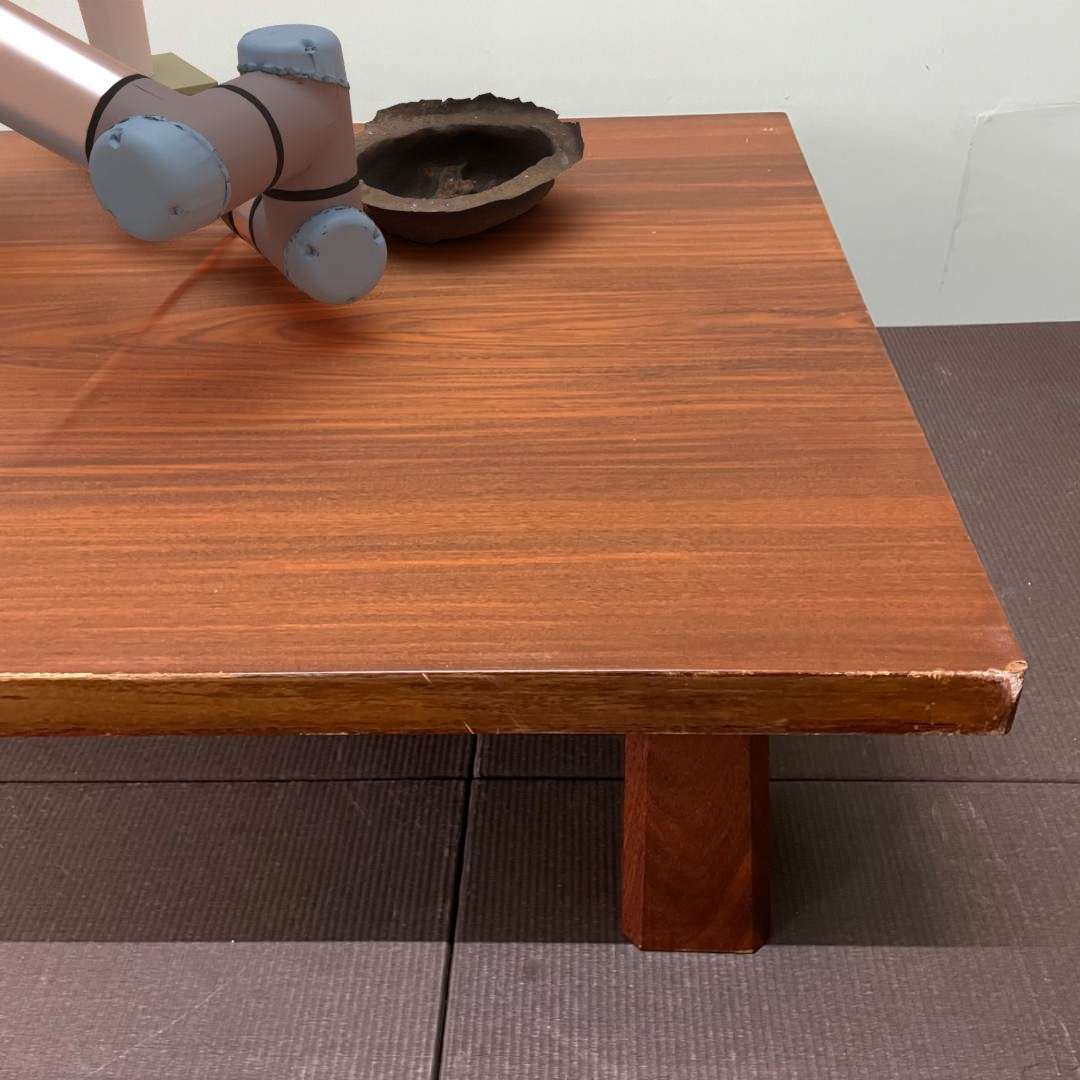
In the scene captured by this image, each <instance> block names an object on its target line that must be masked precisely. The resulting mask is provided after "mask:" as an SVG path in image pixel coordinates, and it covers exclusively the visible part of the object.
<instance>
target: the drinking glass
mask: <svg viewBox="0 0 1080 1080" xmlns="http://www.w3.org/2000/svg"><path fill="white" fill-rule="evenodd" d="M77 4H78V7H79V11H80V15H81V19H82V21H83V25H84V29H85V33H86V36H87V40H88V44H89V45H91V46H93V47H95V48H96V49H98V50H100V51H102V52H104V53H105V54H107V55H109V56H111V57H113V58H115V59H116V60H118V61H120V62H122V63H124V64H126V65H127V66H129V67H131V68H133V69H135V70H136V71H138V72H140V73H142V74H144V75H146V76H147V77H152V76H153V75H154V68H153V62H152V56H151V55H152V50H151V44H150V43H151V42H150V38H149V32H148V26H147V25H148V24H147V20H146V19H147V18H146V13H145V6H144V1H143V0H77Z"/></svg>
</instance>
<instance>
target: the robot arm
mask: <svg viewBox="0 0 1080 1080" xmlns="http://www.w3.org/2000/svg"><path fill="white" fill-rule="evenodd" d="M236 51H237V65H236V70H237V72H238V73H239V76H237V77H234V78H232V79H230V80H227V81H225V82H222V83H220V84H219V83H218V85H217V86H214V87H212V88H210V89H207V90H205V91H202V92H200V93H197V94H194V95H192V96H186V95H182V94H180V93H178V92H176V91H174V90H173V89H171V88H169V87H167V86H165V85H163V84H161V83H159V82H157V81H155V80H153V79H151V78H149V77H147V76H146V75H144V74H142V73H140V72H138V71H136V70H135V69H133V68H131V67H129V66H127V65H126V64H124V63H122V62H120V61H118V60H116V59H115V58H113V57H111V56H109V55H107V54H105V53H104V52H102V51H100V50H98V49H96V48H95V47H93V46H91V45H90V44H89V43H87V42H85V41H84V40H82V39H80V38H78V37H76V36H74V35H73V34H71V33H69V32H67V31H65V30H63V28H60V27H58V26H56V25H54V24H52V23H51V22H49V21H47V20H45V19H44V18H42V17H40V16H38V15H36V14H34V13H32V12H31V11H29V10H27V9H25V8H23V7H22V6H21V5H18V4H16V3H14V2H13V1H11V0H0V124H1V125H4V126H5V127H6V128H9V129H10V130H13V131H14V132H16V133H17V134H20V135H21V136H23V137H25V138H26V139H28V140H30V141H32V142H34V143H35V144H38V145H39V146H41V147H42V148H45V149H46V150H48V151H49V152H51V153H53V154H55V155H57V156H58V157H61V158H62V159H64V160H66V161H68V162H69V163H71V164H73V165H74V166H77V167H78V168H79V169H81V170H83V171H86V172H87V173H88V174H89V178H90V183H91V186H92V189H93V192H94V194H95V197H96V199H97V201H98V203H99V204H100V206H101V207H102V209H103V211H104V212H109V213H110V214H111V215H112V217H113V218H114V219H115V220H116V225H117V226H118V227H119V228H120V229H121V230H123V231H124V232H126V233H127V234H129V235H131V236H132V237H134V238H137V239H139V240H142V241H146V242H153V243H162V242H167V241H171V240H174V239H176V238H178V237H181V236H183V235H187V234H188V233H192V232H195V231H198V230H201V229H202V228H206V227H208V226H210V225H212V224H213V223H215V222H216V221H218V220H219V218H221V220H222V221H223V223H224V224H225V225H226V226H227V227H228V228H229V229H230V230H231V231H232V232H233V233H235V234H236V235H237V236H238V237H239V238H240V239H241V240H243V241H244V242H245V243H247V244H248V245H249V246H250V247H251V248H252V249H254V251H256V252H257V253H258V254H259V255H261V256H262V257H263V258H264V259H265V260H267V261H268V262H270V264H272V265H273V266H274V267H275V268H276V269H277V270H278V271H279V272H280V273H281V274H283V276H285V277H286V278H287V281H288V282H290V284H291V285H292V286H293V287H294V288H295V289H297V290H298V291H301V292H302V293H304V294H306V295H308V296H310V297H311V298H312V299H314V300H315V301H317V302H320V303H322V304H325V305H330V306H345V305H351V304H354V303H356V302H358V301H360V300H362V299H364V298H366V296H367V295H369V294H370V293H372V291H373V290H374V289H375V288H376V286H377V285H378V284H379V283H380V281H381V280H382V278H383V276H384V273H385V270H386V267H387V261H388V250H387V249H388V247H387V243H386V239H385V237H384V235H383V233H382V231H381V229H380V228H379V227H378V226H377V225H376V223H375V222H374V220H373V219H372V218H370V216H369V214H368V213H366V211H364V205H363V202H362V197H361V188H360V181H359V178H358V172H357V171H358V170H357V160H356V150H355V141H354V134H355V133H354V123H353V113H352V104H351V102H352V101H351V94H350V91H351V85H350V82H349V81H348V78H347V77H348V76H347V71H346V66H345V60H344V53H343V48H342V43H341V40H340V38H339V37H338V35H337V34H336V33H334V32H333V31H332V30H330V29H328V28H327V27H324V26H320V25H315V24H307V23H305V24H304V23H287V24H274V25H268V26H264V27H259V28H255V29H251V30H249V31H247V32H246V33H244V34H243V35H242V37H241V38H240V39H239V41H238V42H237V46H236Z"/></svg>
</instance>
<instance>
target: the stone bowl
mask: <svg viewBox="0 0 1080 1080" xmlns="http://www.w3.org/2000/svg"><path fill="white" fill-rule="evenodd" d="M559 116H560V113H557V112H556V111H555V110H553V109H551V108H547V107H544V106H537V104H536V103H535V102H533V101H532V100H530V101H522V100H521V98H520V96H518V97H515V98H511V99H510V98H506V97H503V96H496V95H495V94H493V93H492V92H491V91H490V92H485V93H482V94H478V95H476V96H475V97H474V98H472V99H471V97H465V98H457V99H456V98H453V97H447V98H446V99H445V100H443V99H442V98H441V99H439V98H438V99H437V98H436V99H434V98H433V99H425V98H424V99H423V98H422V99H421V98H420V99H419V101H407V102H399V103H397V104H394V105H391V106H389V107H386V108H381V109H378V110H376V113H375V116H374V118H373V119H372V120H369V121H367V122H365V123H364V128H363V129H364V130H362V131H359V132H357V133H354V141H355V150H356V160H357V170H358V171H357V172H358V178H359V181H360V188H361V197H362V204H363V203H364V204H366V206H367V208H368V210H369V211H370V212H371V214H372V216H373V217H374V218H375V219H376V221H377V222H378V224H379V225H380V226H381V227H382V229H383V230H384V231H385V232H386V233H387V234H389V235H390V236H399V237H401V238H404V239H406V240H407V239H408V240H410V241H414V242H417V243H422V244H431V245H432V244H435V243H438V242H439V241H441V240H444V239H445V240H448V239H456V238H463V237H466V236H471V235H475V234H479V233H481V232H484V231H486V230H488V229H490V228H493V227H496V226H497V225H499V224H503V223H505V222H506V221H509V220H514V219H516V218H518V217H519V216H521V215H522V214H526V213H528V212H529V211H530V210H531V209H532V208H534V207H535V206H536V205H538V204H539V203H540V202H541V201H543V200H544V198H545V197H546V196H547V195H549V193H550V191H551V190H552V189H553V187H554V185H555V182H556V181H555V177H556V176H558V175H560V174H561V173H564V172H566V171H567V170H568V169H572V168H573V166H574V165H575V164H576V163H578V162H579V161H581V160H583V157H584V151H585V142H584V138H583V137H582V136H583V135H582V127H581V124H580V121H575V122H572V121H563V122H562V121H561V120H560V119H559Z"/></svg>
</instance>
